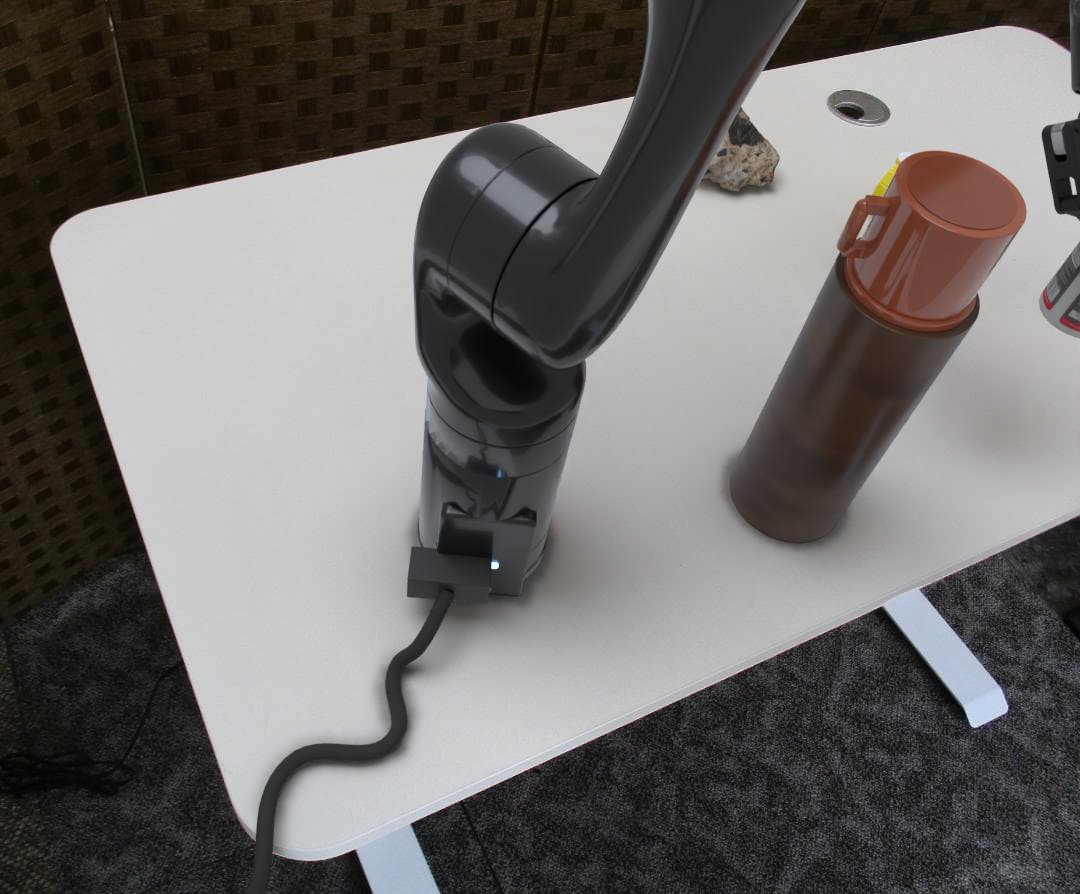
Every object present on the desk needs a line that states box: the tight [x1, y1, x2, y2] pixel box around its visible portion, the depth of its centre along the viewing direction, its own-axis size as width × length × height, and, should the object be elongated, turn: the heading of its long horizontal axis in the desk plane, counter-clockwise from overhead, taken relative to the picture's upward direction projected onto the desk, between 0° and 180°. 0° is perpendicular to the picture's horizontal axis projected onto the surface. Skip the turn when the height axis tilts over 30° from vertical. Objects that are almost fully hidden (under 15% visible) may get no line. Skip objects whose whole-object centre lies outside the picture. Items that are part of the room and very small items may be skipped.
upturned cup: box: [836, 150, 1027, 332], centre depth 57 cm, size 8×9×7 cm
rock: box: [702, 106, 781, 192], centre depth 100 cm, size 9×7×10 cm
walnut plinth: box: [729, 236, 981, 544], centre depth 69 cm, size 9×9×23 cm
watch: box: [871, 151, 914, 197], centre depth 100 cm, size 6×3×6 cm, turn 126°
